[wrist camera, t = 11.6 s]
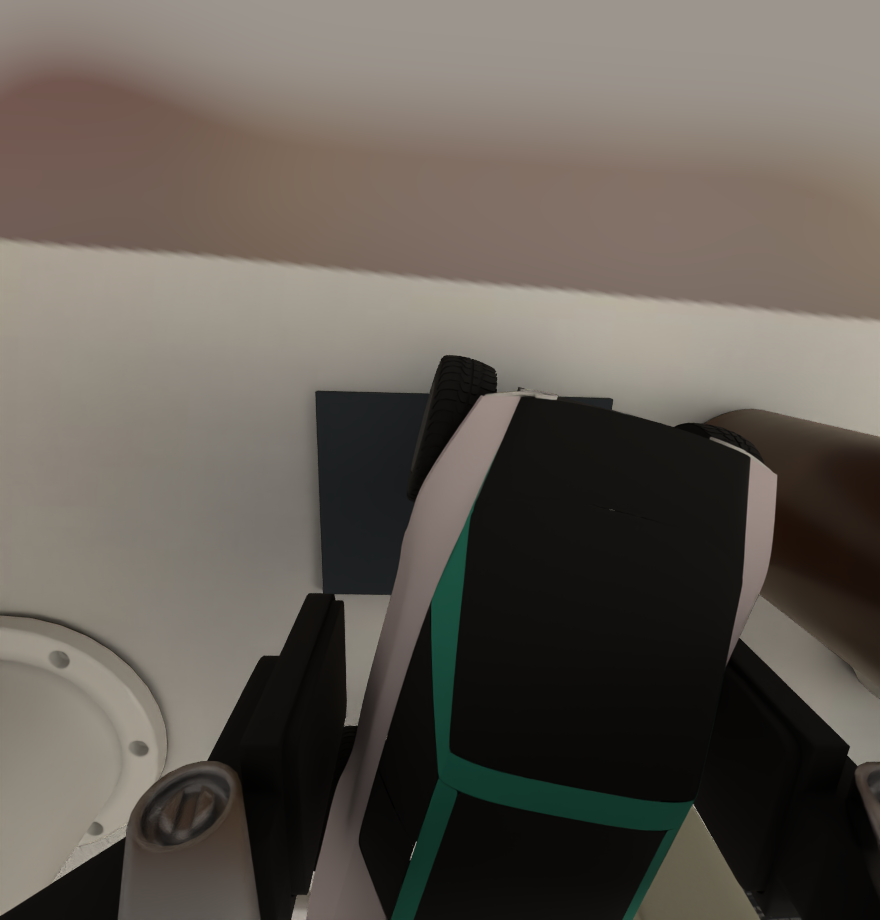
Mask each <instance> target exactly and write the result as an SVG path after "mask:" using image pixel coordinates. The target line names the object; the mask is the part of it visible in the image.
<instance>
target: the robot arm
mask: <svg viewBox="0 0 880 920" xmlns="http://www.w3.org/2000/svg"><path fill="white" fill-rule="evenodd" d="M346 707H347V694H346V656H345V619H344V601H343V600H335V595H334V594H325V593H309V594H308V595H307V596H306V599H305V601H304V603H303V605H302V607H301V610H300V612H299V614H298V616H297V618H296V621H295V623H294V625H293V627H292V629H291V632H290V634H289V636H288V638H287V640H286V643H285V645H284V647H283V649H282V651H281V653H280V656H263V657H261V658H260V660H259V661H258V663H257V665H256V667H255V669H254V671H253V672H252V674H251V676H250V678H249V680H248V682H247V684H246V686H245V688H244V690H243V692H242V694H241V696H240V698H239V700H238V702H237V704H236V706H235V708H234V710H233V711H232V713H231V715H230V717H229V719H228V721H227V723H226V725H225V727H224V729H223V731H222V733H221V735H220V737H219V739H218V741H217V743H216V745H215V747H214V749H213V750H212V752H211V754H210V756H209V758H208V760H207V761H200V762H196V763H192V764H188V765H185V766H183V767H180V768H178V769H176V770H174V771H172V772H170V773H168V774H167V775H165V776H164V777H162V778H161V779H160V780H159V778H160V776H161V773H162V771H163V769H164V766H165V759H166V753H167V738H166V727H165V724H164V721H163V718H162V715H161V712H160V709H159V706H158V704H157V703H156V701H155V699H154V697H153V696H152V694H151V692H150V690H149V689H148V687H147V686H146V684H145V683H144V682H143V681H142V680H141V679H140V677H139V676H138V675H137V674H136V673H135V672H134V670H133V669H132V668H131V667H130V666H129V665H128V664H126V663H125V662H124V661H123V660H122V659H120V658H119V657H118V656H117V655H116V654H115V653H113V652H112V651H111V650H109V649H108V648H106V647H104V646H103V645H101V644H99V643H98V642H96V641H94V640H93V639H91V638H89V637H88V636H85V635H83V634H81V633H78V632H76V631H73V630H71V629H68V628H66V627H63V626H61V625H58V624H54V623H49V622H45V621H41V620H37V619H33V618H24V617H12V616H0V920H291V917H292V913H293V909H294V905H295V900H296V896H297V895H307V893H308V891H309V888H310V884H311V879H312V875H313V870H314V865H315V860H316V856H317V851H318V846H319V841H320V837H321V832H322V827H323V823H324V818H325V813H326V808H327V804H328V799H329V794H330V789H331V785H332V780H333V775H334V770H335V766H336V761H337V756H338V752H339V747H340V742H341V737H342V733H343V728H344V723H345V718H346ZM849 748H850V746H849V745H848V744H847V743H846V742H845V741H844V740H843V739H842V738H841V737H840V736H839V735H838V734H837V733H836V732H835V731H834V730H833V729H832V728H831V727H830V726H829V725H828V724H827V723H826V722H825V721H824V720H822V719H821V718H820V717H819V716H818V715H817V714H816V713H815V712H814V711H813V710H812V709H811V708H810V707H809V706H808V705H807V704H806V703H805V702H804V701H803V700H802V699H801V698H800V697H799V696H798V695H797V694H796V693H795V692H794V691H793V690H792V689H791V688H790V687H789V686H788V685H787V684H786V683H785V682H784V681H783V680H782V679H781V678H780V677H779V676H778V675H777V674H776V673H775V672H774V671H773V670H772V669H771V668H770V667H769V666H768V665H767V664H766V663H765V662H764V661H763V660H761V659H760V658H759V657H758V656H757V655H756V654H755V653H754V652H753V651H752V650H751V649H750V648H749V647H748V646H747V645H746V644H745V643H744V642H743V641H742V640H741V639H740V638H739V639H738V641H737V643H736V646H735V648H734V650H733V652H732V654H731V656H730V659H729V661H728V663H727V665H726V668H725V673H724V678H723V683H722V687H721V692H720V697H719V702H718V706H717V711H716V715H715V720H714V724H713V729H712V733H711V738H710V742H709V747H708V751H707V756H706V760H705V764H704V769H703V773H702V777H701V782H700V786H699V790H698V794H697V797H696V799H695V801H694V803H693V804H694V806H695V807H696V809H697V811H698V813H699V815H700V816H701V818H702V820H703V822H704V823H705V825H706V827H707V829H708V831H709V832H710V834H711V836H712V838H713V839H714V841H715V843H716V845H717V847H718V848H719V850H720V852H721V854H722V855H723V857H724V859H725V861H726V863H727V864H728V866H729V868H730V870H731V871H732V873H733V875H734V877H735V879H736V880H737V882H738V883H739V885H740V886H741V887H742V888H743V889H744V890H746V891H750V892H751V893H752V895H753V897H754V899H755V900H756V902H757V904H758V906H759V907H760V909H761V911H762V913H763V914H764V916H765V917H786V916H797V915H798V913H799V915H800V916H801V918H802V919H803V920H880V762H866V763H863V764H861V765H859V766H857V765H856V764H855V763H854V762H853V761H852V760H851V759H850V758H849V757H848V756H847V754H848V751H849ZM127 823H128V825H127V830H126V837H125V838H123V839H122V840H120V841H118V842H117V843H115V844H114V845H112V846H110V847H109V848H107V849H106V850H104V851H103V852H101V853H99V854H98V855H96V856H95V857H93V858H91V859H90V860H88V861H87V862H85V863H83V864H82V865H80V866H79V867H77V868H76V869H74V870H72V871H71V872H69V873H68V874H66V875H64V876H63V877H61V878H60V879H58V880H57V881H55V882H53V880H54V879H55V877H56V876H57V874H58V873H59V871H60V870H61V868H62V867H63V865H64V864H65V862H66V861H67V859H68V858H69V856H70V855H71V854H72V852H73V851H74V849H75V848H76V847H77V846H82V845H86V844H90V843H92V842H94V841H97V840H99V839H102V838H104V837H106V836H109V835H111V834H112V833H114V832H115V831H117V830H118V829H120V828H121V827H123V826H124V825H126V824H127ZM52 882H53V883H52ZM51 883H52V884H51Z"/></svg>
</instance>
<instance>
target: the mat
mask: <svg viewBox="0 0 880 920" xmlns="http://www.w3.org/2000/svg"><path fill="white" fill-rule="evenodd" d="M315 393H316V419H317V445H318V471H319V497H320V524H321V550H322V576H323V593H325V594H371V595H392V591H393V588H394V584H395V580H396V576H397V572H398V567H399V562H400V555H401V547H402V542H403V538H404V534H405V530H406V529H407V526H408V524H409V521H410V518H411V514H412V511H413V508H414V504H415V503H414V502H412V501H410V500H409V499H408V498H407V494H406V493H407V486H408V480H409V474H410V469H411V465H412V460H413V456H414V451H415V447H416V443H417V439H418V435H419V431H420V427H421V423H422V419H423V415H424V412H425V408H426V404H427V401H428V397H429V394H423V393H383V392H343V391H316V392H315ZM561 398H566V399H570V400H575V401H579V402H583V403H586V404H590V405H594V406H598V407H602V408H605V409H609V410H612V404H613V399H611V398H583V397H561Z"/></svg>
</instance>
